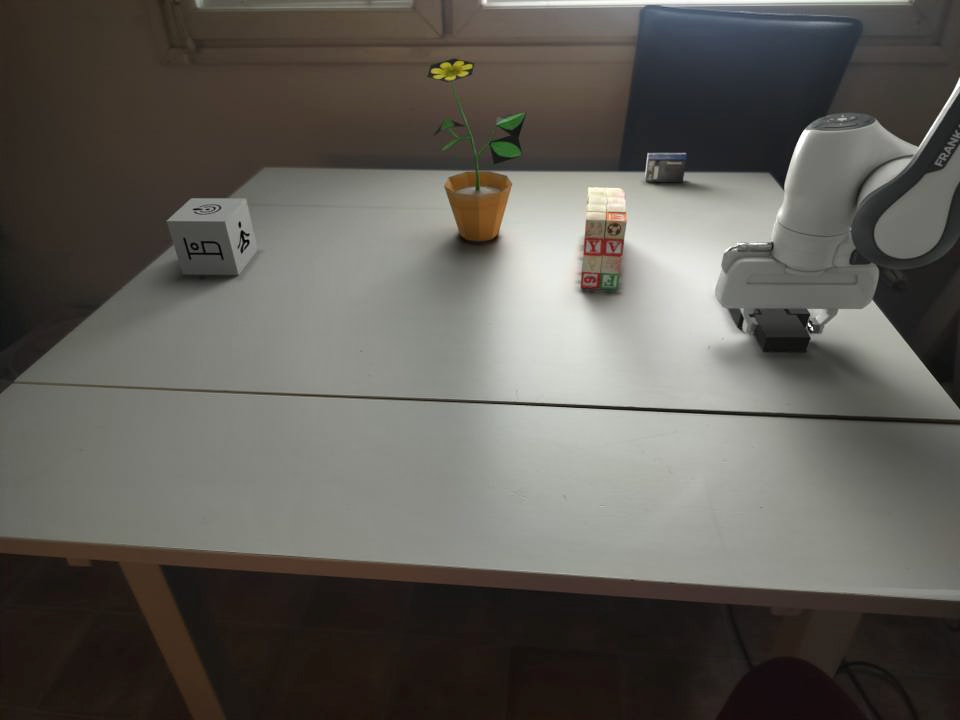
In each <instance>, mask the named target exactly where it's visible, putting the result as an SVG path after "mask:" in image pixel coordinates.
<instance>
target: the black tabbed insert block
mask: <svg viewBox="0 0 960 720" xmlns="http://www.w3.org/2000/svg"><path fill="white" fill-rule="evenodd" d="M757 310H758V312H759V315H754V318H755V319H756V321H757V323H758V327H757V329H756V330H757V331H756V333H752V334H753V336H754V338H755V339H756V342H757V343H758V345H759V347H760V349H761V351H762V352H763V353H807V351H808V348H809V345H810V342H811V339H812V337H811V335H810V333H809V331H808V330H807V328H804V326H803V325H802V323H801V321H800V320H799V318H798V317H797V315H788V314H787V313H786V311H785V310H784V309H757Z"/></svg>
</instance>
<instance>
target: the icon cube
mask: <svg viewBox="0 0 960 720" xmlns="http://www.w3.org/2000/svg"><path fill="white" fill-rule="evenodd" d="M166 224H167V227H168V231H169V234H170V237H171V240H172V244H173V247H174V250H175V253H176V257H177V259H178V264H179V266H180V269H181V272H182V275H185V276H187V275H189V276H240V274H241V273H242V271H244V269H245V268H246V266H247V265H248V264H249V263H250V261H251V260H252V258H253V257H254V256H255V255H256V253H257V252H258V250H259V248H258V244H257V239H256V236H255V231H254V227H253V223H252V218H251V214H250V210H249V205H248V201H247V198H239V197H238V198H237V197H235V198H231V197H230V198H227V197H225V198H223V197H221V198H220V197H217V198H215V197H214V198H213V197H212V198H210V197H209V198H207V197H204V198H201V197H199V198H198V197H191V198H190V199H189V200H188V201H186V202H185V203H184V204H183V205H182V206H181V207H180V208H179V209H177V210H176V211H175V212H174V213H173V214H172V215H171V216H170V217H169V218H168V219H167V220H166Z"/></svg>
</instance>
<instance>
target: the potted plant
mask: <svg viewBox="0 0 960 720" xmlns="http://www.w3.org/2000/svg"><path fill="white" fill-rule="evenodd" d="M474 66H475V62H472V61H468V60H462V59H458V58H451V59H448V60H444V61H440V62H437V63H434V64H433V63H432V64H430V66H429V70H428V73H427V76H426V78H429V79H433V80H436V81H441V82H445V83H449V82H451V85H452V89H453V92H454V97H455V100H456V103H457V106H458V108H459V111H460V114H461V117H462V119H463V122H464V124H461V123H458V122H456V121H454V120H452V119H449V118H445V119H444V120H443V121H442V123H441V124H440V125H439V127H438V128H437V130H436V131H435V132H434V133H433V135H432V137H434V136H436V135H438V134H439V133H441V132H442V131H444V130H446V129H447V130H449V132H450V134H451V135H452V136H453V137H454V139H452V140H450V141H449V142H447V143H445V144H444V145H442V146H441V147H439V148H438V149H436V150H435V151H433V152H434V153H438V152H444V151H445V150H447V149H449V148H450V147H452V146H454V145H455V144H457V143H458V142H461V141H463V140H469V141H470V144H471V148H472V153H473V157H474V171H464V172H461V173H458V174H454V175H451V176H448V178H447V179H446V181H445V183H444V185H443V188H444V190H445V193H446V196H447V199H448V202H449V205H450V208H451V212H452V215H453V217H454V220H455V223H456V226H457V230H458V232H459V233H458V234H459V235H460V236H461V237H462V238H464V240H466V241H473V242H484V241H489V240H490V241H491V240H493V239H494V238H496V237H497V236H498V235H499V233H500V230H501V225H502V222H503V218H504V215H505V213H506V212H505V211H506V208H507V204H508V201H509V197H510V194H511V190H512V187H513V182H512V181H511V180H510V178H509V177H508V175H506V174H501V173H497V172H494V171H490V170H483V171H481V170H480V171H479V163H478V158H479V157H480V156H481V155H482V154H483V152H484V151H485V150H486V149H487V148H488V146H489V149H490V154H491V158H492V162H493V165H498V164H501V163H503V162H507V161H511V160H513V159H516V158H519V157H523V151H522V146H521V143H520V139H519V138H520V134H521V132H522V128H523V125H524V123H525V122H524V121H525V119H526V116H527V111H526V112H519V113H511V114H503V115H497V116H496V117H497V118H496V122H495V127H494V130H493V132H492V134H491V137H490V139H489V141H488V142H487V143H486V144H485V145H484V147H482V148H481V150H480V151H479V152H478V153H477V151H476V148H475V144H474V139H473V136H472V132H471V129H470V126H469V125H468V121H467V119H466V116H465V114H464V112H463V109H462V106H461V103H460V101H459V98H458V95H457V91H456V87H455V83H454V81H457V80H459V79H463V78H468V77H471V76H472V75H473V71H474V68H475V67H474ZM463 127H465V128H466V130H467V133H468V136H458V135H457V134H456V133H455V131H453V130H452V129H451V128H463ZM497 128H500V129H501V130H502V131H504V132H506V134H508V135H506V136H504V137H501V138H498V139H495V140H493V138H494V136H495V133H496V130H497Z"/></svg>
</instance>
